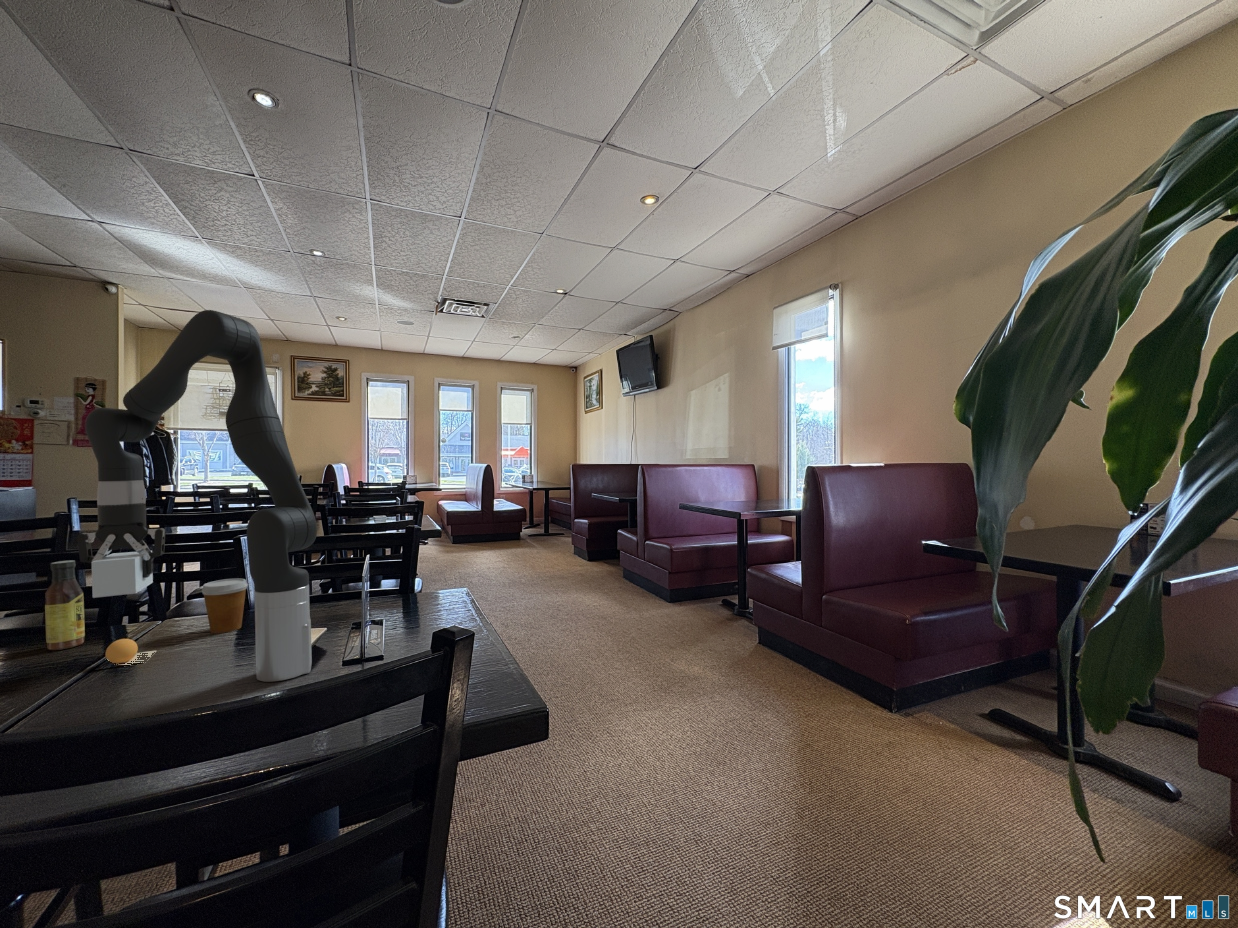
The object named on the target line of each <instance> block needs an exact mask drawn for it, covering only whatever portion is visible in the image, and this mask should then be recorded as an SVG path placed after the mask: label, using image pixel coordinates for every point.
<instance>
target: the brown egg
mask: <svg viewBox="0 0 1238 928" xmlns="http://www.w3.org/2000/svg"><path fill="white" fill-rule="evenodd" d="M138 646H139V645H138V644H137V642H136V641H135V640H132V639H130V638H120V639H117V640H115V641H113V642H112V643H110V644H109V645H108V647H107V648H106V650H105V659H107V660H108V661H110V662H112V663H116V664H119V663H125V662H127V661H129V660H131V659H132V658H133V657H134V656H135V655H136V653H138V650H139V647H138Z"/></svg>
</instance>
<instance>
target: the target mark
mask: <svg viewBox="0 0 1238 928" xmlns="http://www.w3.org/2000/svg"><path fill="white" fill-rule="evenodd" d="M154 652H155V653H157V650H156V649H154V650H151V651H143V652H142V651H141V652H137V653H136V655H135V656H134V657H133V658H132V659H131V660H129V661H127V662H125V664H118V665H130V666H132V665H131V664H127V663H132V664H133V663H140V662H135V661H144V660H137V659H138V658H137V657H139V656H137V655H142V653H148V654H145V655H148V656H147V657H150V658H152V656H153V655H152V653H154ZM140 653H141V654H140ZM155 653H154V654H155ZM143 655H144V654H143ZM151 655H152V656H151ZM140 657H142V656H140ZM145 657H146V656H145ZM135 659H136V660H135ZM139 659H140V658H139ZM146 659H147V658H146ZM131 661H132V662H131ZM133 661H134V662H133ZM141 663H142V662H141ZM143 663H144V662H143ZM144 664H145V663H144ZM114 665H115V664H114ZM116 665H117V664H116Z"/></svg>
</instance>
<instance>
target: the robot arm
mask: <svg viewBox="0 0 1238 928" xmlns="http://www.w3.org/2000/svg"><path fill="white" fill-rule="evenodd" d="M260 337H261V336H260V335H259V333H258V331H257V329H256V327H255V326H254V325H253V324H252V323H251V322H250V321H248V320H245V319H242V318H239V317H236V316H234V315H231V314H227V313H224V312H221V311H217V310H213V309H205V310H201V311H199V312H197V313H196V314H195V315H194V316H192V317H191V318H190V319H189V321H188V322H187V323H186V324H185V326H183V328H182V330H181V331H180V332H179V333H178V335H177V336H176V338H175V339H174V340H173V342H172V343H171V344H170V345H169V347H168V348H167V350H166V352H165V353H164V354H163V355H162V357H161V359H159V361H158V362H157V363H156V365H154V367H153V368H152V369H151V370H150V371H149V372H148V373H147V374H146V375H145V376H144V377H142V378H141V380H139V381H138V382H137V383H136V384H135V385H134V386H132V388H130V389H129V390H128V391H127V392H126V393H125V394H124V396H123V397H122V398H123V399H122V404H123V406H124V407H125V408H124V409H123V408H112V407H111V408H110V407H97V408H94V409H93V410H91V411H90V412H89V413H88V414H87V416H86V419H85V421H84V429H85V433H86V435H87V439H88V441H89V444H90V445H91V448H92V450H93V454H94V456H95V458H96V462H97V475H98V479H97V480H98V485H97V489H96V490H97V491H96V498H97V500H96V504H97V526H98V528H97V530H96V531H95V532H83V533H79V534H77V535H76V540H77V546H78V547H77V549H78V555H79V561H80V562H81V563H86V564H87V563H88V564H91V565H92V562H93V561H95V560H98V559H100V558H103V557H107V556H108V555H110V553H111V552H112V551H118V550H121V549H122V550H132V549H133V550H134V552H137V553H139V554H140V555H142V558H143V559H144V561H142V571H143V578H147V577H149V576H150V574H152V573H153V574H154V559H155V558H157V557H160V556H163V555H164V554H165V543H166V532H167V531H166V529H165V528H163V527H161V528H151V529H149V527H148V525H147V509H146V508H147V506H146V505H147V504H146V503H147V502H146V501H147V495H146V488H145V483H144V463H143V458H142V456H141V455H140V454H137V453H133V452H129V451H126V450H125V449H124V447H123V446H122V445H121V442H123V443H137V442H141V441H144V440H145V439H148V438H149V437H150V436H151V435H152V434H153V433H154V432H155V429H156V427H157V425H158V423H159V422H160V420H161V418H162V416H163V415H164V414H165V413H166V412H168V410H169V409H171V408H172V407H173V406H174V405H175V404H176V403H178V401H179V400H180V399H182V397H183V396H184V394H185V392H187V391H186V390H187V387H188V382H189V373H190V370H191V368H193V366H194V365H195V364H197V363H198V362H199V361H201V360H202V359H204V358H206V357H212V358H216V359H222V360H225V361H227V362H228V364H229V367H230V369H231V372H232V376H233V380H234V393H233V394H232V398H231V400H230V402H229V405H228V407H227V410H226V414H225V426H226V430H227V434H228V436H229V440H230V443H231V446H232V448H233V449H232V450H233V452H234V453H235V455H236V456H237V457H238V459H239V460H240V461H241V462H242V464H243V465H244V466H245V467H247V469H249V470H250V472H252V473H253V475H255V477H257V478H258V479H259V480H260V482H261V483H262V484H263V485H264V486H265V488H266V489H267V490H268V492H269V494H270V496H271V497H270V498H271V499H272V501H273V504H274V507H271V508H263V509H260V510H257V511H255V512H254V513H253V514H252V515H251V517H250V518H249V520H248V523H247V525H246V526H247V528H246V545H247V546H246V548H247V556H248V569H249V574H250V577H251V579H252V582H253V587H254V588H253V590H254V595H253V596H254V626H255V627H254V628H255V629H254V630H255V631H254V632H255V637H254V638H255V671H256V680H257V681H259V682H260V681H261V682H265V683H266V682H267V683H270V682H280V681H285V680H289V679H294V678H297V677H300V676H301V675H305V674H310V673H311V669H312V663H313V662H312V661H313V659H312V656H313V655H312V622H311V621H312V620H311V614H310V613H311V612H310V575H309V572H308V570H307V569H304V568H301V567H294V566H293V565H291V564H290V560H289V553H291V552H296V551H300V550H304V549H307V548H310V547H311V546H312V545H313V544H314V542H315V541H316V538H317V536H318V535H317V534H318V525H317V518H316V516H315V513H314V511H313V508H312V506H311V504H310V502H309V499H308V497H307V494H306V493H305V491H304V488H303V485H302V483H301V481H300V478H299V476H298V473H297V470H296V467H295V464H294V461H293V459H292V455H291V452H290V450H289V446H288V442H287V440H286V439H287V438H286V434H285V431H284V428H283V425H282V420H281V419H280V415H279V414H278V413H279V412H278V410H277V407H276V404H275V401H274V397H273V392H272V390H271V385H270V383H269V379H268V375H267V374H268V373H267V368H266V364H265V363H266V362H265V357H264V352H263V347H262V346H263V345H262V342H261V338H260ZM148 535H150V536H151V538H152V539H153V540H154V541H153V542H154V543H153V545H154V547H153V551H152V550H151V549H150V548H149V546H148V545H147V543H146V542H145V541H144V539H145V538H147V536H148ZM95 539H97V540H98V541H100V542H101V544H102V545H101V546H100V548H98V551H97V552H96V554H95V555H93V550H92V549H93V548H92V543H93V542H94V541H95ZM151 551H152V552H151Z"/></svg>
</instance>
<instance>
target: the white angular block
mask: <svg viewBox="0 0 1238 928" xmlns="http://www.w3.org/2000/svg"><path fill="white" fill-rule="evenodd" d="M150 551H151V552H153V550H150ZM142 561H144V559H143V558H142V555H140V554H139V553H137V552H136V551H129V552H128V551H126V552H116V553H115V552H114V553H111V554H110V553H109V554H108V555H107V557H103V558H100V559H98V560H95V561H93V562H92V564H91V586H92V587H91V588H92V589H91V590H92V598H93V599H95V598H104V597H105V598H106V597H113V596H122V595H133V594H137V593H139V592H140V591H142V590H144V589H145V588H147V587H148V586H150V585H151V584H153V583H154V581H153V580H154V575H153V574H154V572H153V573H152V574H150V576H149V577H147V578H143V571H142Z"/></svg>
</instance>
